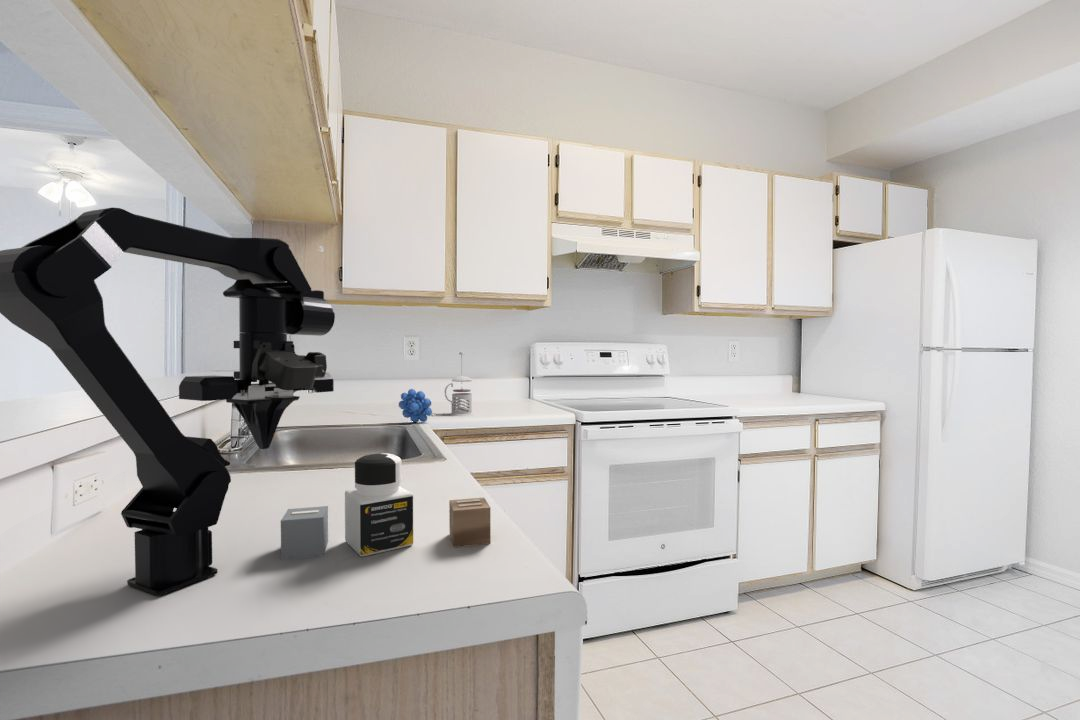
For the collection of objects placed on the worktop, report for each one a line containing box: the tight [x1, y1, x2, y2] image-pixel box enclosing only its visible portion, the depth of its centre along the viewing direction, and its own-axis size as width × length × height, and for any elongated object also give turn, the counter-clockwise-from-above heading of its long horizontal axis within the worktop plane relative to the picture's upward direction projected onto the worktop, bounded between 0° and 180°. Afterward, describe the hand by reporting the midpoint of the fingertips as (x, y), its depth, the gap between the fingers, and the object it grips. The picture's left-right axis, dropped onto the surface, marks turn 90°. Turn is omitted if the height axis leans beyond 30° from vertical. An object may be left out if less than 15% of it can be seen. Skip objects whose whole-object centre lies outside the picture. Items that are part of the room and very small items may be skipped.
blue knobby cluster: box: [398, 388, 433, 423], centre depth 185 cm, size 12×7×12 cm, turn 95°
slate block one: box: [280, 505, 329, 561], centre depth 69 cm, size 5×5×5 cm
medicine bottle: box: [344, 452, 414, 558], centre depth 71 cm, size 7×7×12 cm
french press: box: [444, 351, 475, 417], centre depth 209 cm, size 10×12×25 cm
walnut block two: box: [448, 497, 492, 548], centre depth 73 cm, size 5×5×5 cm
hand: (264, 448), depth 71 cm, fingers closed
